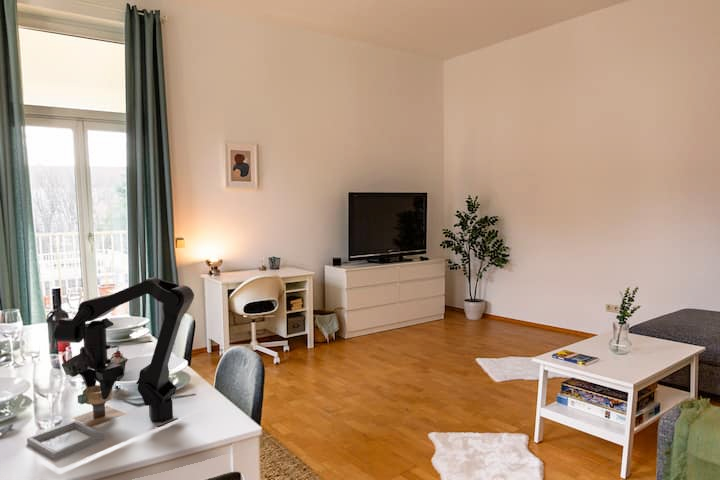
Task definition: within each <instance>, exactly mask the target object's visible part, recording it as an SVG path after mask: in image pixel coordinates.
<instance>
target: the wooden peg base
mask: <svg viewBox="0 0 720 480" xmlns="http://www.w3.org/2000/svg"><path fill="white" fill-rule="evenodd" d="M106 403H107V401H106V402H103V403H100V404H90V405H91V406H92V410H91V411H88V412H86V413H83V414H80V415H77V416H75V417H72V419H73V420H74V421H78V422H80V423H82V424H84V425H86V426H88V427H90V428H92V427H96V426H98V425H100V424H102V423H105V422H108V421H110V420H113V419H117V418H119V417H122V416H124V415H126V414H127V413H126V412H123V411H121V410H118V409H115V408H113V407H110V406H109V405H105V404H106Z"/></svg>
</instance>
